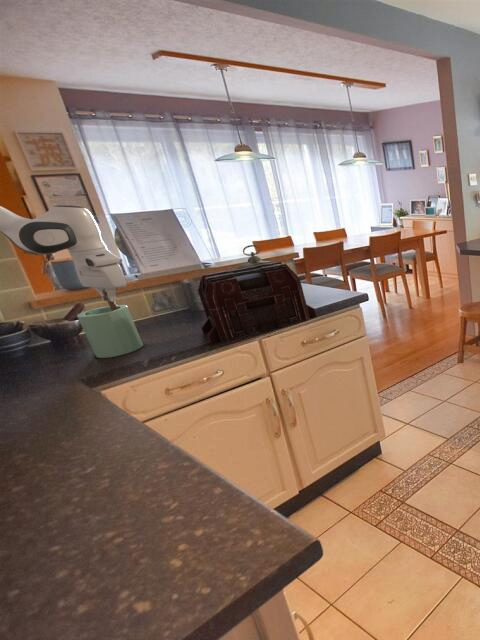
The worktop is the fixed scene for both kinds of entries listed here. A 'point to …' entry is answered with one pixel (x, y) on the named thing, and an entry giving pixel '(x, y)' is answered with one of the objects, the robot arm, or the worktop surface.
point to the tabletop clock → (253, 259)
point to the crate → (251, 301)
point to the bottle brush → (111, 304)
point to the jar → (110, 331)
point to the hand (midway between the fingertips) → (110, 300)
